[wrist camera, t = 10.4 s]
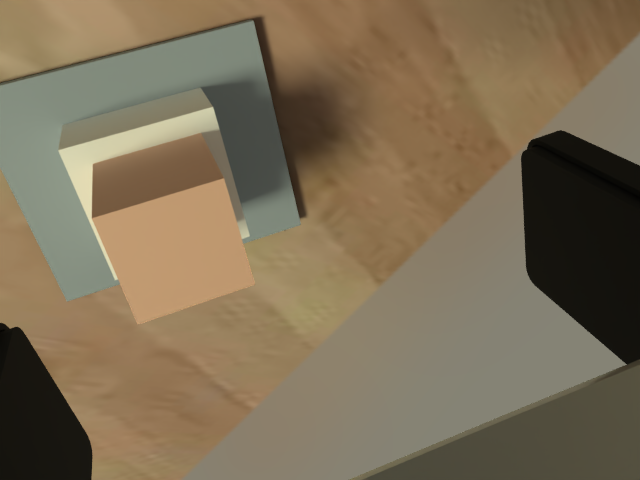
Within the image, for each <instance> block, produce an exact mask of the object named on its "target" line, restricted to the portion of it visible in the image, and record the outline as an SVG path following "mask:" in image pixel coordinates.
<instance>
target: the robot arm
mask: <svg viewBox="0 0 640 480" xmlns="http://www.w3.org/2000/svg"><path fill="white" fill-rule="evenodd" d="M521 165H522V187H523V209H524V231H525V252H526V269H527V273H528V276H529V278H530V280H531V281H532V283H533V284H534V285H535V286H536V287H537V288H539V289H540V290H541V291H542V292H543V293H544V294H546V295H547V296H548V297H549V298H550V299H551V300H553V301H554V302H555V303H556V304H557V305H559V307H561V308H562V309H563V310H565V312H566V313H568V314H569V315H570V316H571V317H572V318H574V319H575V320H576V321H577V322H578V323H579V324H581V325H582V326H583V327H584V328H585V329H586V330H587V331H589V332H590V333H591V334H592V335H593V336H594V337H595V338H597V339H598V340H599V341H600V342H601V343H602V344H604V345H605V346H606V347H607V348H608V349H609V350H611V351H612V352H613V353H614V354H615V355H617V356H618V357H619V358H620V359H621V360H622V361H623V362H625V363H626V364H627V365H625V366H622V367H620V368H617V369H615V370H613V371H610V372H608V373H606V374H603V375H601V376H598V377H596V378H593V379H591V380H588V381H586V382H583V383H581V384H579V385H576V386H574V387H571V388H569V389H566V390H564V391H562V392H559V393H557V394H554V395H552V396H549V397H547V398H544V399H542V400H539V401H537V402H535V403H533V404H530V405H527V406H525V407H522V408H520V409H518V410H515V411H513V412H510V413H508V414H506V415H503V416H501V417H498V418H496V419H494V420H491V421H489V422H486V423H484V424H482V425H479V426H477V427H475V428H472V429H470V430H467V431H465V432H462V433H460V434H458V435H455V436H453V437H450V438H448V439H446V440H443V441H441V442H438V443H436V444H433V445H431V446H429V447H426V448H424V449H421V450H419V451H417V452H414V453H412V454H410V455H407V456H405V457H403V458H400V459H398V460H395V461H393V462H390V463H388V464H386V465H383V466H381V467H378V468H376V469H374V470H371V471H369V472H366V473H364V474H362V475H359V476H357V477H354V478H352V479H350V480H640V166H639V165H637V164H635V163H633V162H631V161H628V160H626V159H624V158H622V157H619V156H617V155H615V154H613V153H611V152H609V151H607V150H604V149H602V148H600V147H598V146H596V145H593V144H591V143H589V142H587V141H585V140H583V139H580V138H578V137H576V136H574V135H572V134H570V133H567V132H565V131H561V130H560V131H556V132H554V133H551V134H548V135H545V136H542V137H539V138H536V139H533V140H531V141H530V142H529V144H528V147H527V150H525V151H524V152H523V153H522V156H521ZM91 475H92V448H91V444H90V440H89V438H88V436H87V434H86V432H85V430H84V429H83V427H82V426H81V424H80V422H79V421H78V419H77V417H76V416H75V414H74V413H73V411H72V409H71V408H70V406H69V405H68V403H67V401H66V400H65V398H64V396H63V395H62V393H61V392H60V390H59V388H58V387H57V385H56V384H55V382H54V380H53V379H52V377H51V375H50V374H49V372H48V371H47V369H46V367H45V366H44V364H43V363H42V361H41V359H40V358H39V356H38V354H37V353H36V351H35V350H34V348H33V346H32V345H31V343H30V342H29V340H28V338H27V337H26V335H25V334H24V332H23V331H22V330H21V329H20V328H19V327H14V328H11V329H9V327H7V326H6V325H5V324H3V323H0V480H91Z"/></svg>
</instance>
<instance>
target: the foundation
mask: <svg viewBox="0 0 640 480" xmlns="http://www.w3.org/2000/svg"><path fill="white" fill-rule="evenodd" d="M198 133H201V134H202V136H203V138H204V140H205V142H206V144H207V146H208V148H209V150H210V152H211V154H212V156H213V158H214V159H215V161H216V163H217V165H218V167H219V169H220V171H221V173H222V175H223V177H224V180H225V183H226V187H227V190H228V193H229V197H230V200H231V204H232V207H233V210H234V214H235V217H236V221H237V224H238V227H239V231H240V234H241V238H242V241H243V244H244V243H247V242H250V241H253V240H256V239H259V238H262V237H265V236H268V235H271V234H274V233H277V232H280V231H283V230H286V229H289V228H292V227H295V226H299V225H301V223H300V219H299V215H298V210H297V206H296V202H295V197H294V193H293V189H292V184H291V180H290V176H289V171H288V167H287V163H286V159H285V154H284V150H283V146H282V141H281V137H280V133H279V128H278V124H277V120H276V115H275V111H274V107H273V102H272V98H271V94H270V89H269V85H268V81H267V76H266V72H265V68H264V63H263V59H262V55H261V50H260V46H259V42H258V38H257V33H256V29H255V25H254V21H253V20H252V19H250V20H246V21H242V22H238V23H234V24H230V25H226V26H223V27H219V28H215V29H211V30H207V31H203V32H199V33H195V34H191V35H187V36H183V37H180V38H176V39H172V40H168V41H164V42H160V43H156V44H152V45H148V46H144V47H140V48H136V49H133V50H129V51H125V52H121V53H117V54H113V55H109V56H105V57H101V58H97V59H93V60H90V61H86V62H82V63H78V64H74V65H70V66H66V67H62V68H58V69H54V70H50V71H47V72H43V73H39V74H35V75H31V76H27V77H23V78H19V79H15V80H11V81H7V82H4V83H0V168H1V170H2V172H3V174H4V176H5V178H6V180H7V182H8V184H9V186H10V188H11V190H12V192H13V194H14V196H15V198H16V200H17V202H18V204H19V206H20V208H21V210H22V212H23V214H24V216H25V218H26V220H27V222H28V224H29V226H30V228H31V230H32V232H33V234H34V236H35V238H36V240H37V242H38V244H39V246H40V248H41V250H42V252H43V254H44V256H45V258H46V260H47V262H48V264H49V266H50V268H51V270H52V272H53V274H54V276H55V278H56V280H57V282H58V284H59V286H60V288H61V290H62V292H63V294H64V296H65V298H66V300H67V301H70V300H73V299H76V298H79V297H82V296H85V295H88V294H91V293H94V292H97V291H100V290H103V289H106V288H109V287H113V286H116V285H119V284H120V282H119V280H118V278H117V276H116V273H115V271H114V269H113V266H112V264H111V262H110V259H109V257H108V255H107V253H106V250H105V248H104V246H103V243H102V241H101V239H100V236H99V234H98V232H97V230H96V227H95V225H94V223H93V220H92V173H93V164H94V163H98V162H101V161H104V160H108V159H111V158H115V157H118V156H122V155H125V154H129V153H132V152H136V151H139V150H143V149H146V148H150V147H153V146H157V145H160V144H164V143H167V142H171V141H174V140H178V139H181V138H184V137H188V136H191V135H195V134H198Z"/></svg>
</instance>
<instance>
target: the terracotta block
mask: <svg viewBox="0 0 640 480" xmlns="http://www.w3.org/2000/svg"><path fill="white" fill-rule="evenodd" d="M92 220H93V223H94V225H95V227H96V230H97V232H98V234H99V236H100V239H101V241H102V243H103V246H104V248H105V250H106V253H107V255H108V257H109V259H110V262H111V264H112V266H113V269H114V271H115V273H116V276H117V278H118V280H119V282H120V285H121V287H122V289H123V292H124V294H125V296H126V299H127V301H128V303H129V305H130V308H131V310H132V312H133V315H134V317H135V319H136V322H137V324H141V323H144V322H147V321H150V320H153V319H156V318H159V317H162V316H165V315H168V314H171V313H173V312H176V311H179V310H182V309H185V308H188V307H191V306H194V305H197V304H200V303H203V302H206V301H209V300H211V299H214V298H217V297H220V296H223V295H226V294H229V293H232V292H235V291H238V290H241V289H244V288H246V287H249V286H252V285H255V282H254V279H253V275H252V272H251V268H250V265H249V262H248V258H247V255H246V251H245V248H244V244H243V241H242V238H241V234H240V231H239V227H238V224H237V221H236V217H235V214H234V210H233V207H232V204H231V200H230V197H229V193H228V190H227V187H226V183H225V180H224V177H223V175H222V173H221V171H220V169H219V167H218V165H217V163H216V161H215V159H214V158H213V156H212V154H211V152H210V150H209V148H208V146H207V144H206V142H205V140H204V138H203V136H202V134H201V133H198V134H195V135H191V136H188V137H184V138H181V139H178V140H174V141H171V142H167V143H164V144H160V145H157V146H153V147H150V148H146V149H143V150H139V151H136V152H132V153H129V154H125V155H122V156H118V157H115V158H111V159H108V160H104V161H101V162H98V163H94V164H93V173H92Z"/></svg>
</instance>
